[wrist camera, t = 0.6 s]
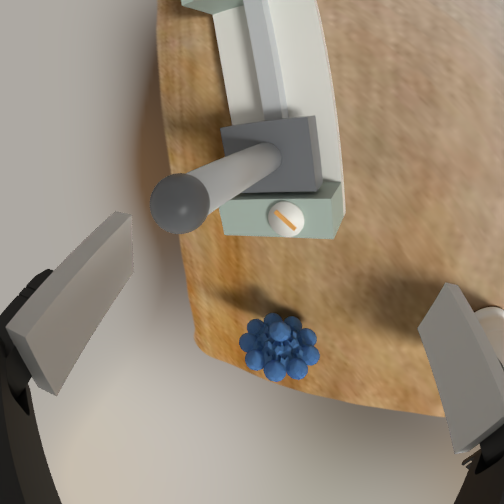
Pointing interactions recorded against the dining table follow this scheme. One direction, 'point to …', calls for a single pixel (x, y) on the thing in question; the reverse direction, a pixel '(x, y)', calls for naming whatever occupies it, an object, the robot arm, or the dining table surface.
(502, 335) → the jar
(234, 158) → the carriage
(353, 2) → the dining table surface
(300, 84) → the rail stand
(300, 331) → the grapes
